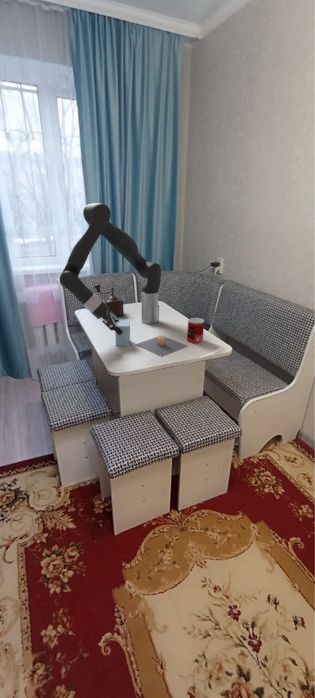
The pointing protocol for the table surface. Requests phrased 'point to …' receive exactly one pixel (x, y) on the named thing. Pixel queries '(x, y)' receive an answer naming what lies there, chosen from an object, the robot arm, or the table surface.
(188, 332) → the canned food
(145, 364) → the table surface
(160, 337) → the peach rounded cylinder
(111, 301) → the pepper mill
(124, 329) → the light blue tall box
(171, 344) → the mat
